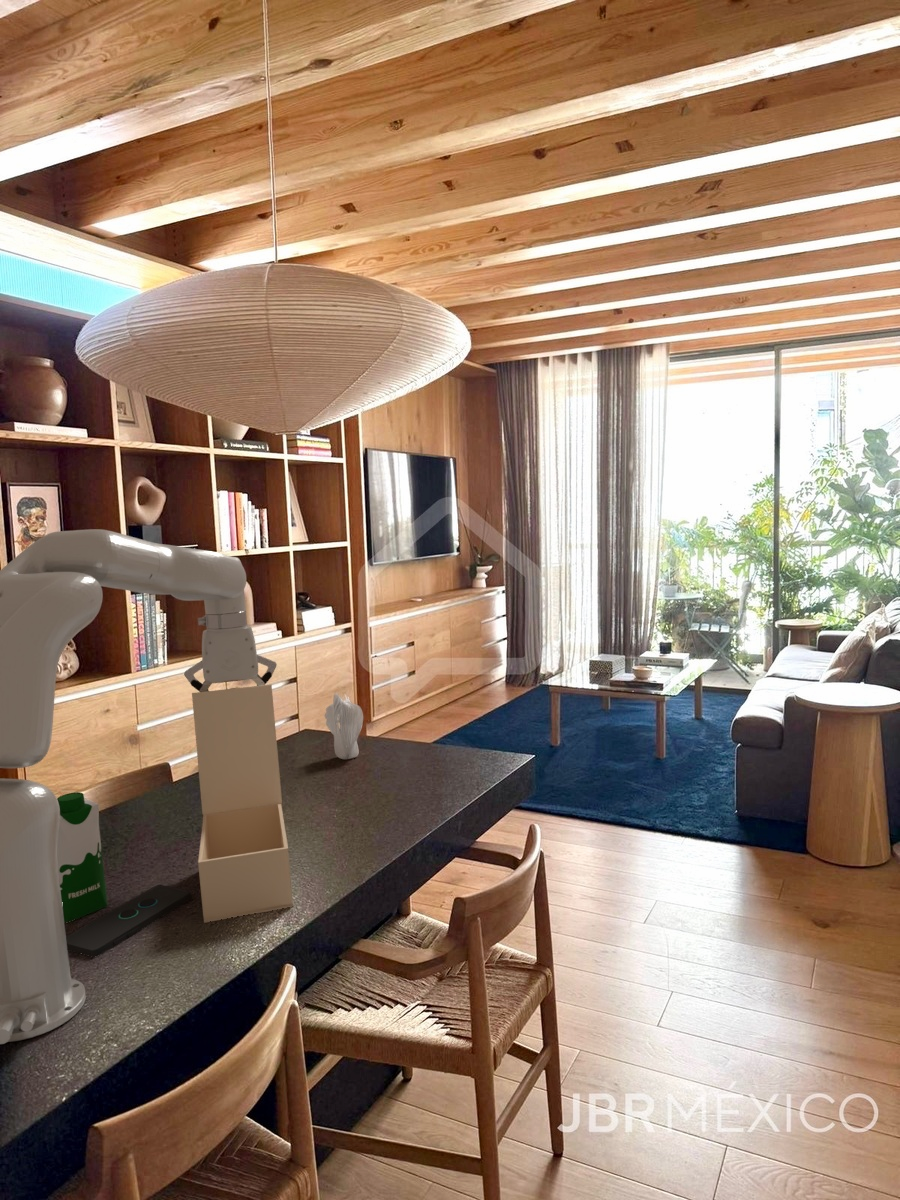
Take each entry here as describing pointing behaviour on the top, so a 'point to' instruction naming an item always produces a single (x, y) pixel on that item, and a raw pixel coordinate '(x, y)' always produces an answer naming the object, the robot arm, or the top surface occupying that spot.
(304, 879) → the top surface
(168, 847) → the top surface
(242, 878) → the carton
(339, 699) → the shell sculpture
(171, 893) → the smart home device
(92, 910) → the milk carton
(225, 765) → the lid flap
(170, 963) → the top surface
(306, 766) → the top surface
